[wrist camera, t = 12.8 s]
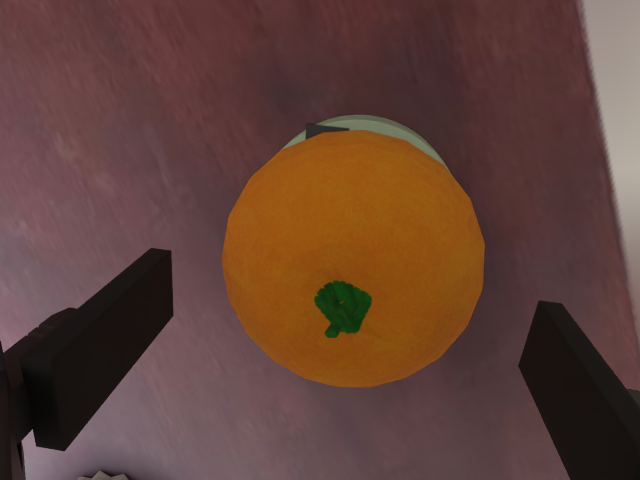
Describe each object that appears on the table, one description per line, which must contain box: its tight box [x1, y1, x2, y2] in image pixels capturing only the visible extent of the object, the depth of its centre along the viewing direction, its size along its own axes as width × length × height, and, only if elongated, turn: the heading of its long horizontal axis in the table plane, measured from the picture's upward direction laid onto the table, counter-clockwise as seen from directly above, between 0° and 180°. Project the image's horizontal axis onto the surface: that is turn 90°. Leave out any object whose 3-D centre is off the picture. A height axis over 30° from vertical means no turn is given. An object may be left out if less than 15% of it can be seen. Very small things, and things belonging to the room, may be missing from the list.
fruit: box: [222, 130, 485, 387], centre depth 20 cm, size 12×12×10 cm
